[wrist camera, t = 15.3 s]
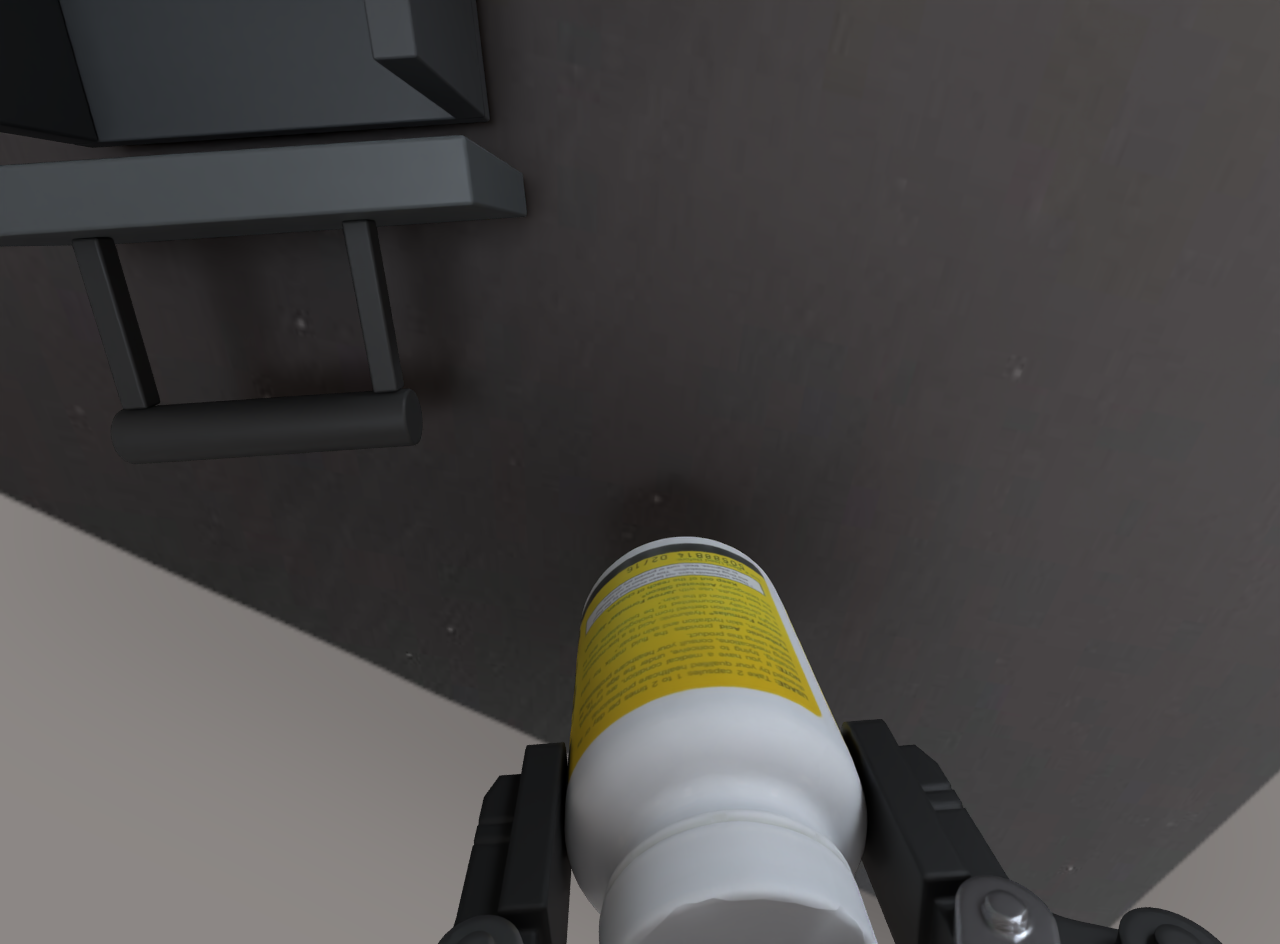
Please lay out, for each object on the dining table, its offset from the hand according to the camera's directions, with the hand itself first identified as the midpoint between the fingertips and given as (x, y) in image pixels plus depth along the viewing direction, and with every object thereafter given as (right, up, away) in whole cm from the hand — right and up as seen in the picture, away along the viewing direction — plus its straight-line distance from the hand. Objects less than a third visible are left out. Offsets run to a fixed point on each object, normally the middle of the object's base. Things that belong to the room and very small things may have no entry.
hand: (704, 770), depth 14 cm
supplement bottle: (0, +2, +5) cm, 6 cm away
